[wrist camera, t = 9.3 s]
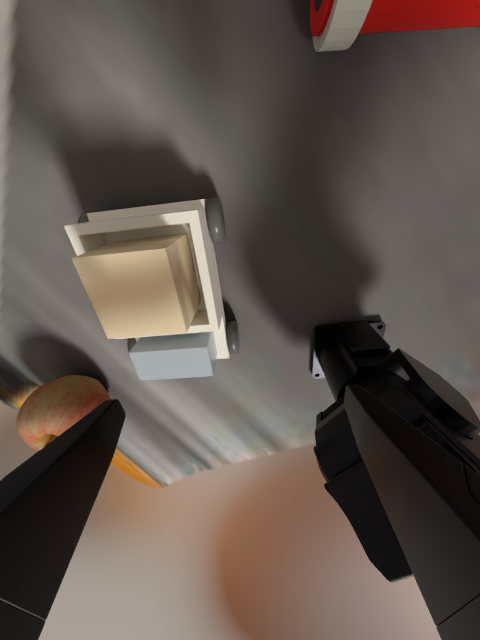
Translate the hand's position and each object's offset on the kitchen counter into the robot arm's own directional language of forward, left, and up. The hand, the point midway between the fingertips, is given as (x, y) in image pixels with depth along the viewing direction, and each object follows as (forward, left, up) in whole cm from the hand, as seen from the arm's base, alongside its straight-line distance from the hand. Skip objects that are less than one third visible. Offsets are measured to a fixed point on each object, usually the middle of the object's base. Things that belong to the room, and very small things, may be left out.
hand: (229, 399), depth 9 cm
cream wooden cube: (+3, +5, -10) cm, 12 cm away
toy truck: (0, +5, -13) cm, 14 cm away
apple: (-11, +19, -13) cm, 26 cm away
